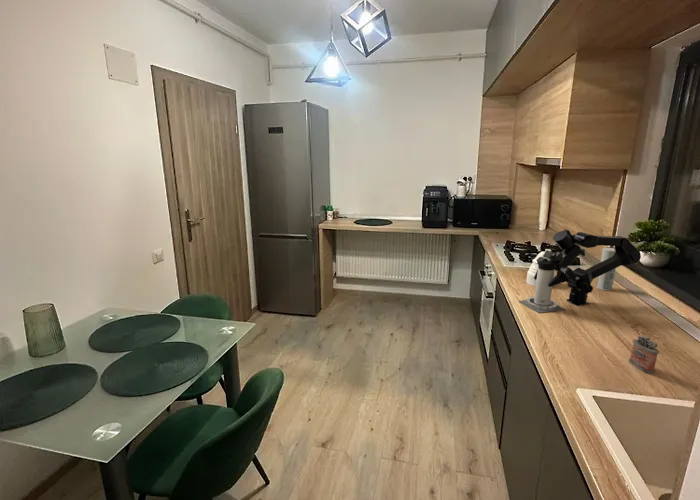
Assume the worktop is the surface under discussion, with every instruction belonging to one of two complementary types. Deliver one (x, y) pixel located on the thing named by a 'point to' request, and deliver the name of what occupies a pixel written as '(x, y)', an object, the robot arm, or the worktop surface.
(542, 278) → the travel mug
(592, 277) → the robot arm
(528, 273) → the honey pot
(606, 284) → the spray can
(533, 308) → the base mat
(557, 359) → the worktop surface
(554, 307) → the metal collar
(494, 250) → the worktop surface
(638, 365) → the red and grey container
